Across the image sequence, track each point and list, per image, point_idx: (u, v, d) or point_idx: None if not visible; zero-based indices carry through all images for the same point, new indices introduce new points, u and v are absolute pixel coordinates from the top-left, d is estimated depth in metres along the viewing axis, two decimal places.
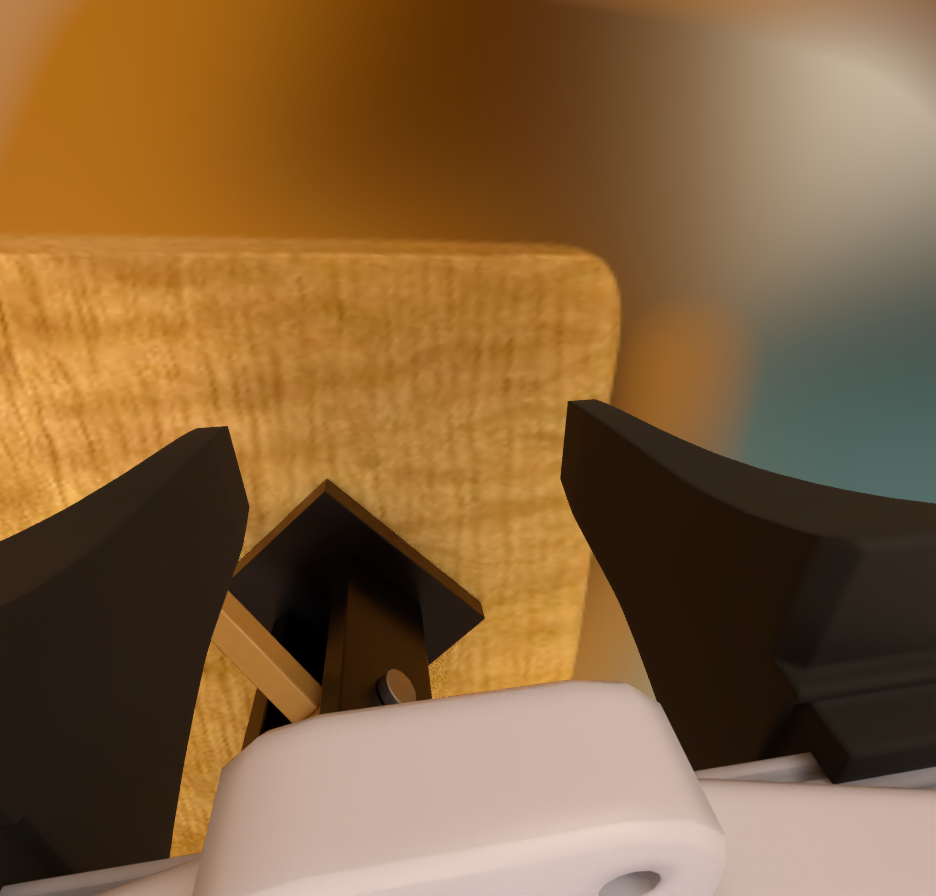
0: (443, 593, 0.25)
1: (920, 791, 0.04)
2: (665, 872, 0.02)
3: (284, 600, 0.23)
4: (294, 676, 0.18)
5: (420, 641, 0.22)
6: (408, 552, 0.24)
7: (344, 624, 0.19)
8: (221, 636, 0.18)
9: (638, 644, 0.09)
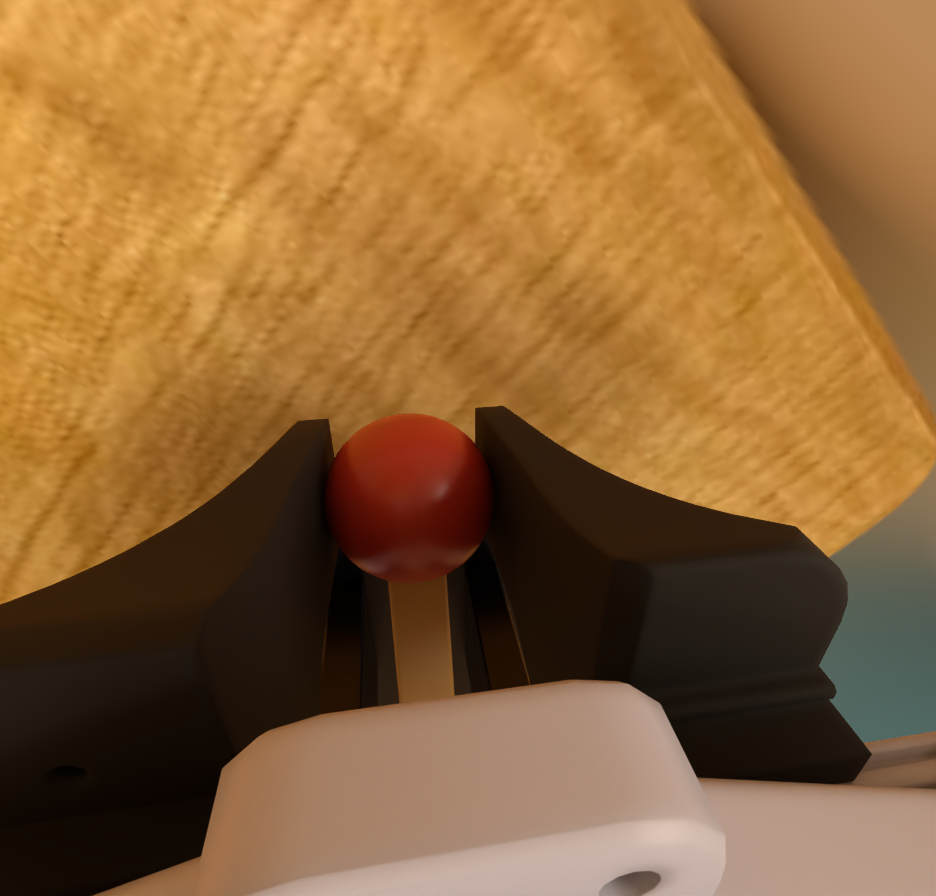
0: None
1: (920, 791, 0.04)
2: (664, 873, 0.02)
3: None
4: None
5: None
6: None
7: None
8: (415, 637, 0.10)
9: (525, 659, 0.09)
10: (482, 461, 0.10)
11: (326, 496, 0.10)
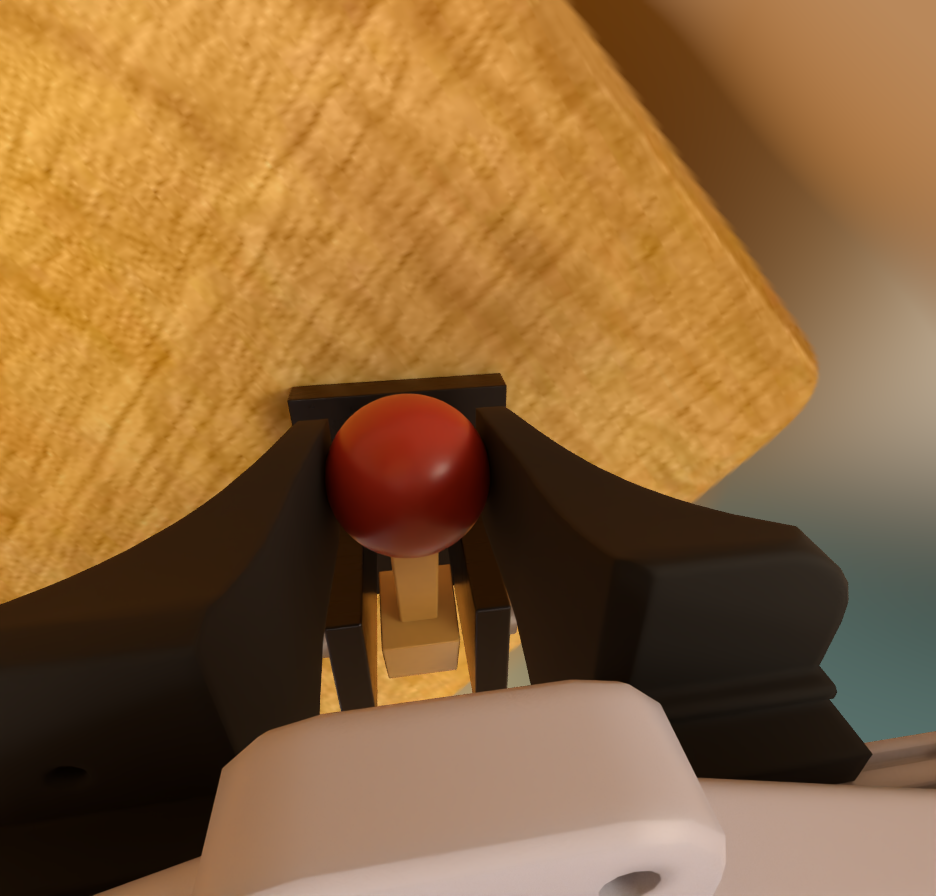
0: None
1: (919, 791, 0.04)
2: (664, 872, 0.02)
3: None
4: None
5: None
6: None
7: None
8: (409, 559, 0.12)
9: (526, 658, 0.09)
10: (482, 469, 0.10)
11: (328, 495, 0.10)
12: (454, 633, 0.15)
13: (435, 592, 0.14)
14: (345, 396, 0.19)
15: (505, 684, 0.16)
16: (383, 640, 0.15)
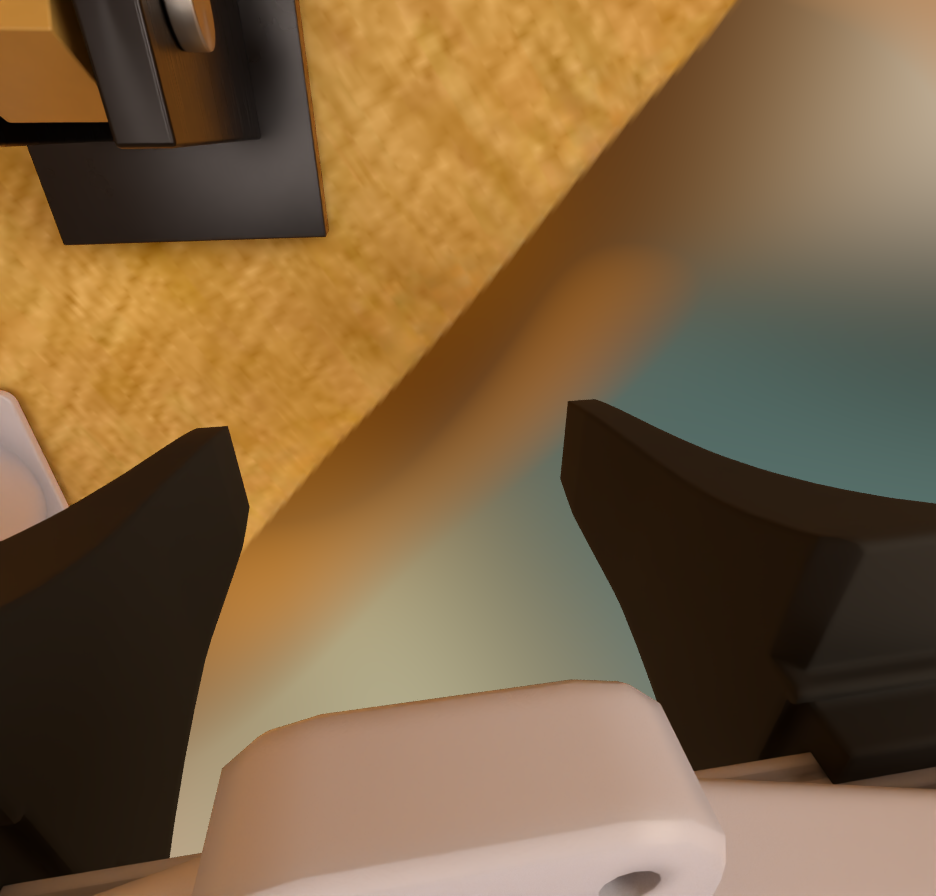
0: (303, 146, 0.16)
1: (920, 791, 0.04)
2: (665, 872, 0.02)
3: None
4: None
5: (241, 124, 0.14)
6: (301, 41, 0.15)
7: None
8: None
9: (637, 644, 0.09)
10: None
11: None
12: None
13: None
14: None
15: (152, 72, 0.09)
16: None
